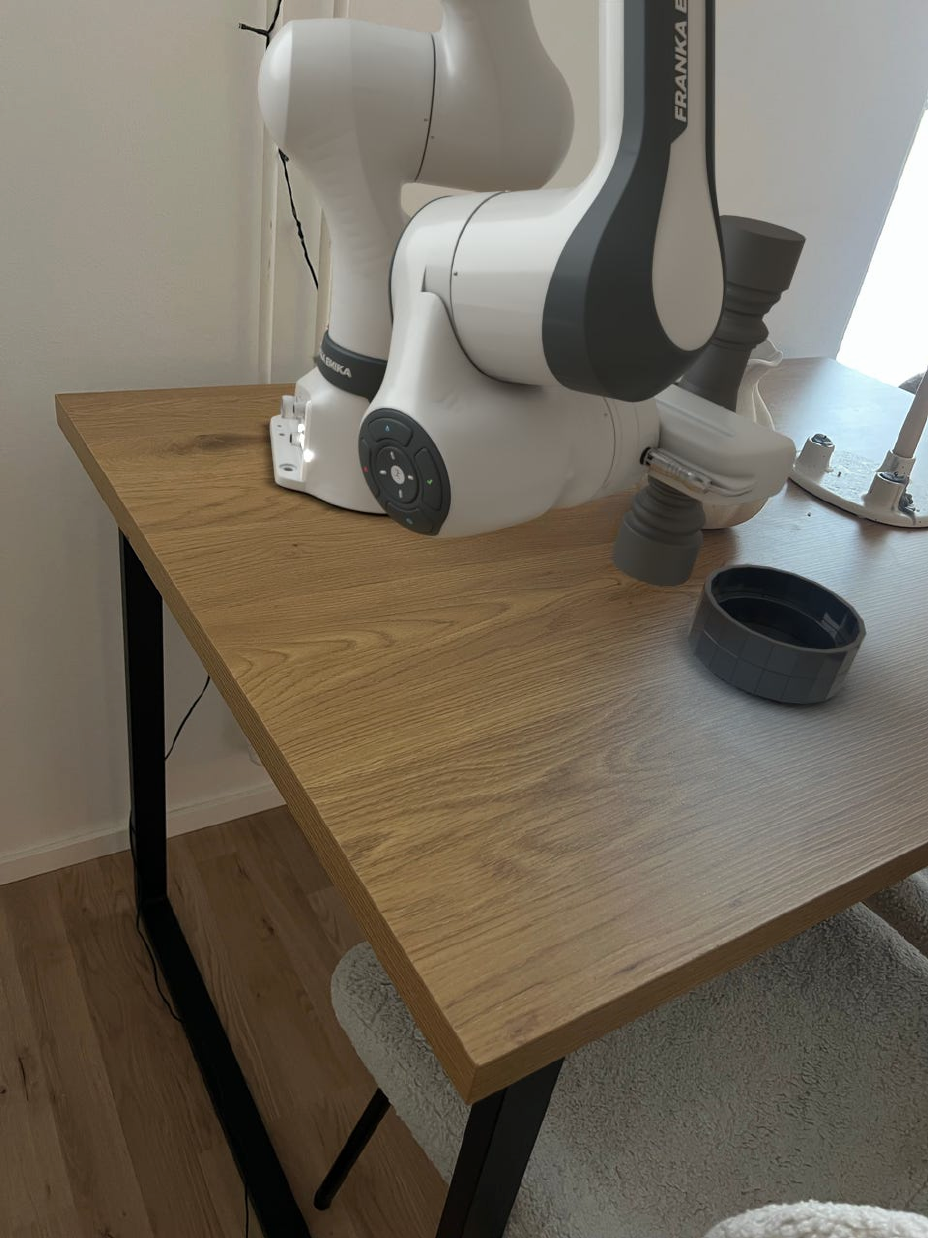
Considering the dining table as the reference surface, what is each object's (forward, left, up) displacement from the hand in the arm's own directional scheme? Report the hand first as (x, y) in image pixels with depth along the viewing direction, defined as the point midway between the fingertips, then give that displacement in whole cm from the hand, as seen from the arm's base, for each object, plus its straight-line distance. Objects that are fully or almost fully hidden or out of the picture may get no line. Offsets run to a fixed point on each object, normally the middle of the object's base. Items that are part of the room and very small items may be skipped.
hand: (706, 399), depth 72 cm
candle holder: (+1, -1, -13) cm, 13 cm away
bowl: (+4, +10, -21) cm, 24 cm away
